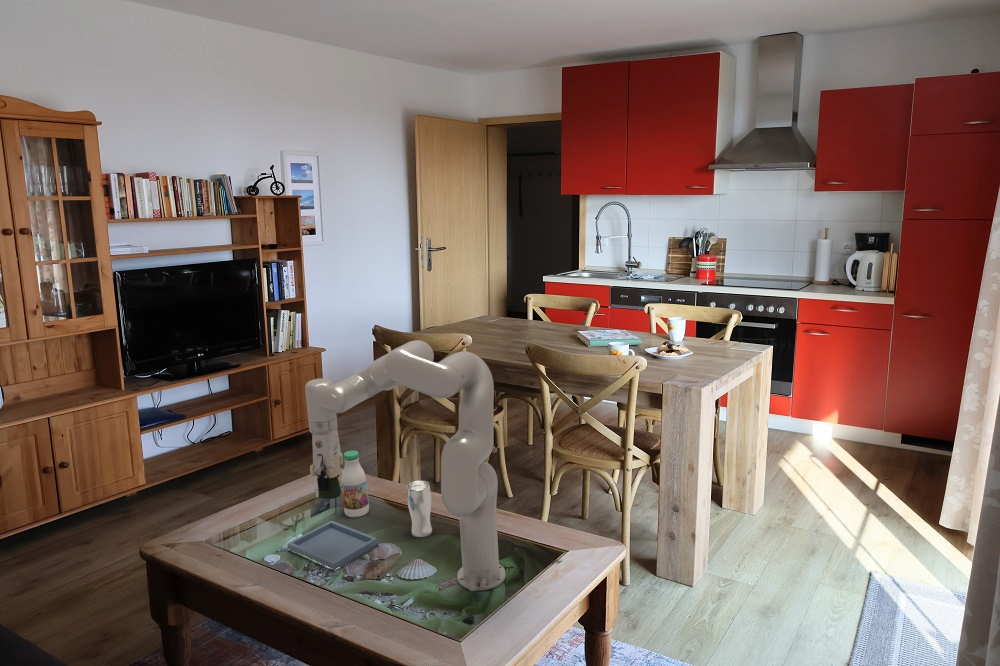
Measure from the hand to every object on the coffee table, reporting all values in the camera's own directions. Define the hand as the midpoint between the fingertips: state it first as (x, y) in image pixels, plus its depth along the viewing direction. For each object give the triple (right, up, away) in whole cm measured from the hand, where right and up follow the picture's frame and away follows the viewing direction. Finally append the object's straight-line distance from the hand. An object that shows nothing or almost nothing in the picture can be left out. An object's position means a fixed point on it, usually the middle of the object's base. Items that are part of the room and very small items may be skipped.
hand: (329, 483), depth 202 cm
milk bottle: (+2, -15, +27) cm, 31 cm away
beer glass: (+24, -17, +13) cm, 32 cm away
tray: (0, -20, +6) cm, 21 cm away
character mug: (0, -4, +1) cm, 4 cm away
